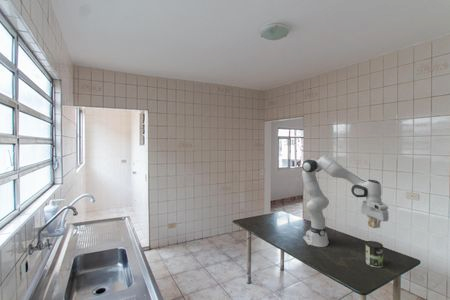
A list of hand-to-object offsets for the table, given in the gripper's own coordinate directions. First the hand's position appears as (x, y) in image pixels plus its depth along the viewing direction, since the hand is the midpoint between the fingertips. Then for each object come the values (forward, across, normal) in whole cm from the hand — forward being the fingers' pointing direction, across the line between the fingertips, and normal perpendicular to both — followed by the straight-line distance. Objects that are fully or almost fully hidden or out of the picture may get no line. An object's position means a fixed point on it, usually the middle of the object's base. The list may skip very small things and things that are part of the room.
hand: (373, 223), depth 163 cm
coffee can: (+29, 0, 0) cm, 29 cm away
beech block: (+2, 0, 0) cm, 2 cm away
